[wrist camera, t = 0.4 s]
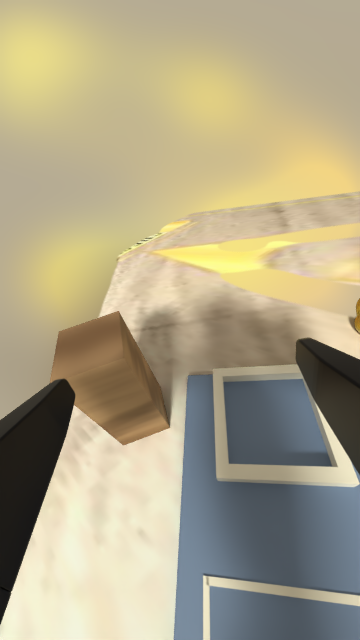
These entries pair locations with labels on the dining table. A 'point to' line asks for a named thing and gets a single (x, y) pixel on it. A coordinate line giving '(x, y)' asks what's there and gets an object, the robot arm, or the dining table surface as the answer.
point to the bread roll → (359, 319)
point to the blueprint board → (265, 513)
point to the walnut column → (110, 378)
